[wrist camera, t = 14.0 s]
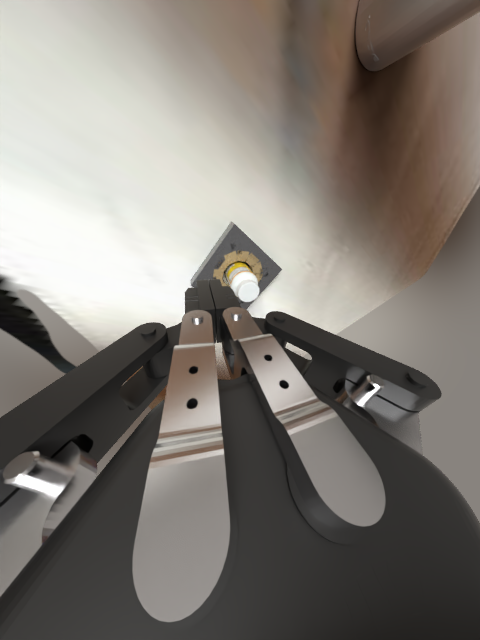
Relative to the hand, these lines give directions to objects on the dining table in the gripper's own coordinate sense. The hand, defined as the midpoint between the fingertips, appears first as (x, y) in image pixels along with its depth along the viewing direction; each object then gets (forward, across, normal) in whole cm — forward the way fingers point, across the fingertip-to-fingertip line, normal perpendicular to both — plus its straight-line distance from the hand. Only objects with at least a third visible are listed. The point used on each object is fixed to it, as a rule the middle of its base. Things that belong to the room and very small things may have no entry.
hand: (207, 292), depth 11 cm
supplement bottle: (+25, -8, +9) cm, 28 cm away
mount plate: (+25, -8, +9) cm, 28 cm away
